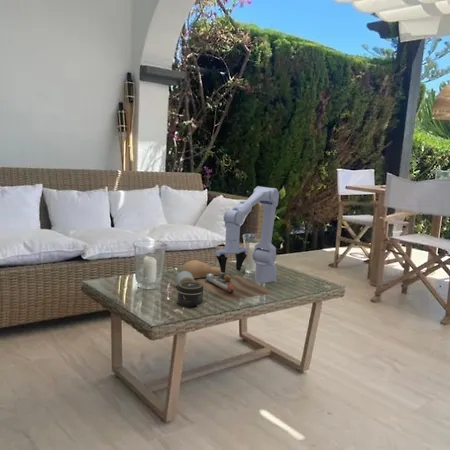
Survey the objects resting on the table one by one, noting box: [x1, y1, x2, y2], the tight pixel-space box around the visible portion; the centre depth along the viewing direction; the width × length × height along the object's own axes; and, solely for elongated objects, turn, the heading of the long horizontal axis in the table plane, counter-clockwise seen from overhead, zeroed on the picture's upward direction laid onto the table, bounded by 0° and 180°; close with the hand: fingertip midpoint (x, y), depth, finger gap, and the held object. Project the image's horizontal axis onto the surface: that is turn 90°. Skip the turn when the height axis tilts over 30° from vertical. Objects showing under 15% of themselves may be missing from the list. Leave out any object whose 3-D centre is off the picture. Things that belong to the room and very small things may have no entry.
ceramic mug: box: [175, 270, 196, 287], centre depth 208 cm, size 11×8×8 cm
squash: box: [182, 259, 223, 280], centre depth 228 cm, size 11×20×9 cm, turn 123°
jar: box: [177, 282, 204, 308], centre depth 192 cm, size 10×10×8 cm
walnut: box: [224, 274, 232, 281], centre depth 221 cm, size 3×3×3 cm
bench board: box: [195, 271, 275, 301], centre depth 213 cm, size 24×28×4 cm
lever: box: [205, 273, 234, 293], centre depth 211 cm, size 20×5×3 cm, turn 32°
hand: (230, 271), depth 203 cm, fingers open, 7 cm apart
